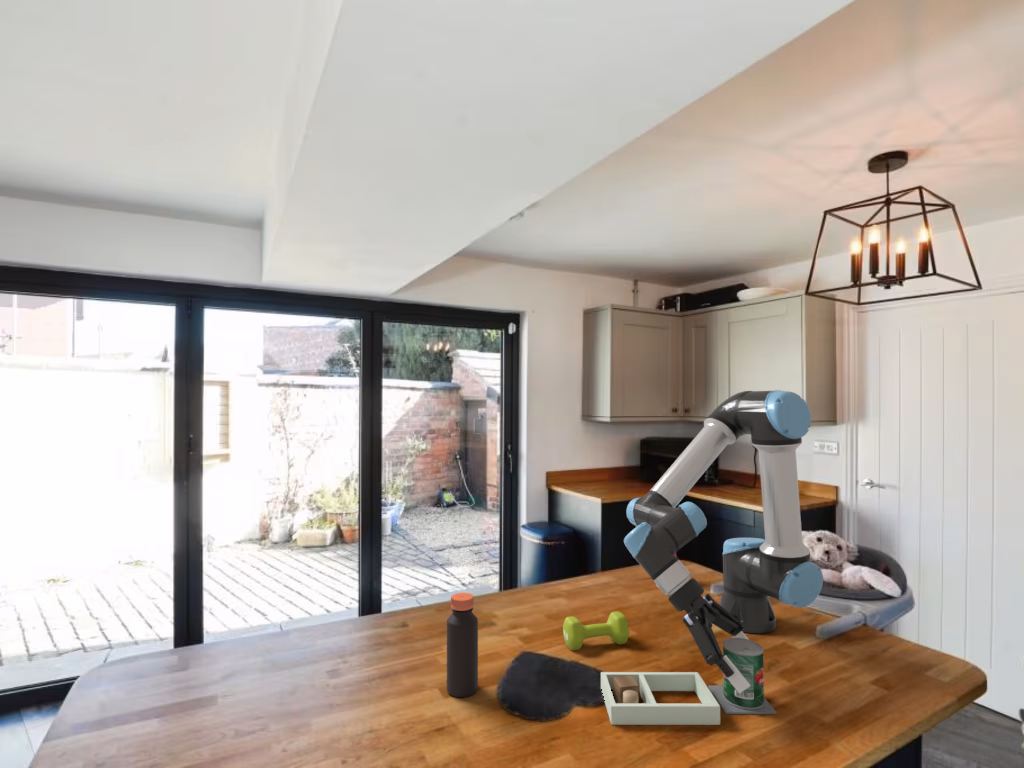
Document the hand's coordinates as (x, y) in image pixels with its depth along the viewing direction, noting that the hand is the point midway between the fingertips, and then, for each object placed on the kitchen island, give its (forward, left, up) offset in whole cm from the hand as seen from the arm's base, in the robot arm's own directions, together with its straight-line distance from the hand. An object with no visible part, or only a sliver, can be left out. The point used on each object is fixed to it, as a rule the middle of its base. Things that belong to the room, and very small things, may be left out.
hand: (752, 674), depth 113 cm
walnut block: (+26, -1, -6) cm, 27 cm away
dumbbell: (+28, -27, -6) cm, 40 cm away
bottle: (+60, -5, -6) cm, 61 cm away
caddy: (+20, +1, -6) cm, 21 cm away
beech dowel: (+26, +4, -6) cm, 27 cm away
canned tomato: (+2, -1, -6) cm, 6 cm away
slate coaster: (+2, -1, -6) cm, 6 cm away
